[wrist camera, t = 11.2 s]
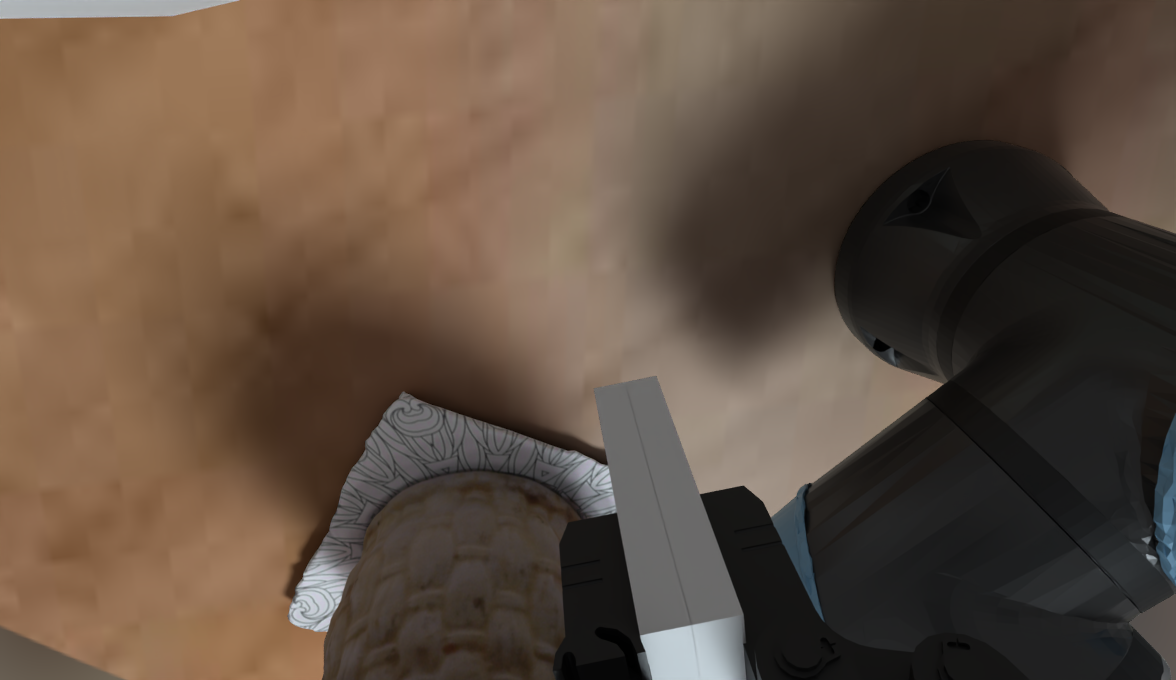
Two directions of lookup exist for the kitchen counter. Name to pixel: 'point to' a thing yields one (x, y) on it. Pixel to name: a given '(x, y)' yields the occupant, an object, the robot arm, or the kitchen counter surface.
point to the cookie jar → (448, 551)
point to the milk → (101, 8)
